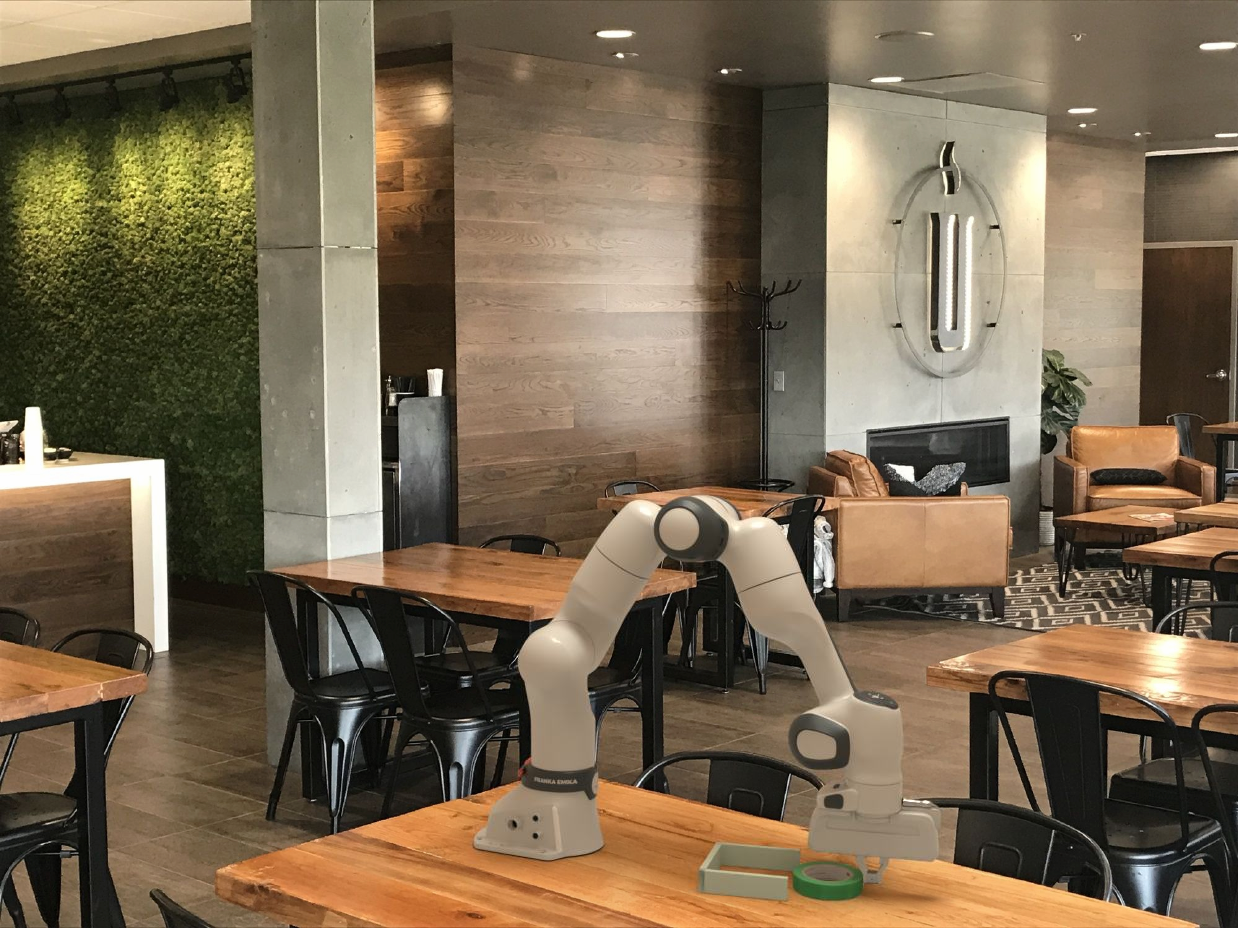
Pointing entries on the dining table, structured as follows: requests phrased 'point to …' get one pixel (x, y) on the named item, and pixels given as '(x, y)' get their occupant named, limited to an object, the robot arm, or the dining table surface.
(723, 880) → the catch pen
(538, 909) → the dining table surface
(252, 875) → the dining table surface
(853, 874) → the tape roll
